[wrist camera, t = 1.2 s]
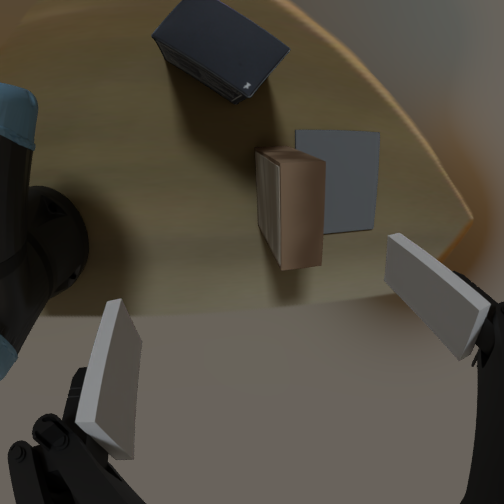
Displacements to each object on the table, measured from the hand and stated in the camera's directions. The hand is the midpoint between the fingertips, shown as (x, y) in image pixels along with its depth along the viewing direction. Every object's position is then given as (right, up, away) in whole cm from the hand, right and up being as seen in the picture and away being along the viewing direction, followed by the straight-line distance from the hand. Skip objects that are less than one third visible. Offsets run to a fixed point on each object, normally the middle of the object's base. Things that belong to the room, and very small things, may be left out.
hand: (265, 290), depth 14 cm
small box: (-5, +24, +15) cm, 29 cm away
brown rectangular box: (+2, +10, +23) cm, 25 cm away
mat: (+11, +11, +24) cm, 29 cm away
